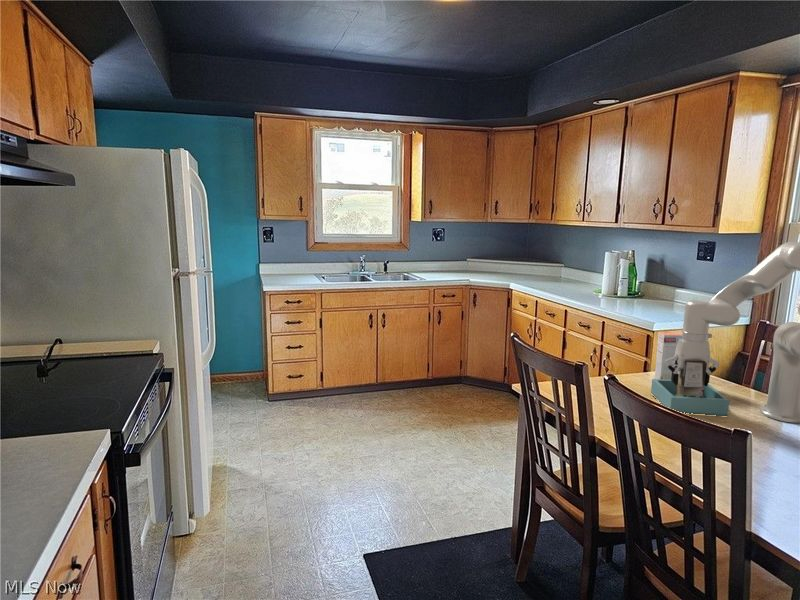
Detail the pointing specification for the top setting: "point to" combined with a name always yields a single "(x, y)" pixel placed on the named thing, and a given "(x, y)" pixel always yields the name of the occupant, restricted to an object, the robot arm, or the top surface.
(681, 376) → the coffee box
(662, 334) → the cracker box
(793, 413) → the robot arm
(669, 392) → the tote
